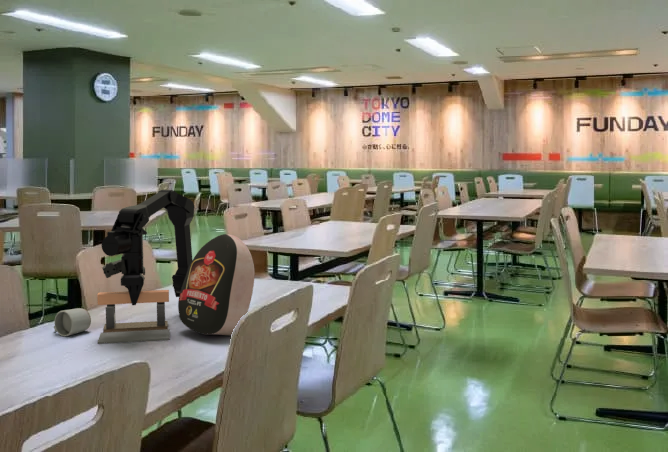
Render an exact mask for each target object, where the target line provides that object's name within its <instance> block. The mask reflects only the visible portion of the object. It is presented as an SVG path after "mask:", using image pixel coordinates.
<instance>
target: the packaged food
mask: <svg viewBox="0 0 668 452" xmlns="http://www.w3.org/2000/svg"><path fill="white" fill-rule="evenodd" d="M255 275H256V274H255V265H254V259H253V256H252V254H251V252H250V250H249V247H248V246H247V244H245V242H243V240H242V239H240V237H238V236H236V235H234V234H229V233H224V234H219V235H218V236H216V237H213V238H212V239H211V240H209V241H208V242H206V243H204V245H203V246H202V247H200V248H199V250H198V251H197V252H196V254H195V256H194V257H193V258H192V262H191V264H190V266H189V268H188V271H187V274H186V277H185V280H184V282H183V285H182V288H181V292H180V296H179V297H178V300H177V301H178V302H177V304H178V305H177V309H178V310H177V311H178V316H179V319H180V322H182V324H183V325H184V326H185V327H187V328H188V329H190V330H192V331H194V332H196V333H199V334H201V335H220V336H232V335H231V334H232V332H233V329H234V328H235V326H236V325H237V323H238V321H239V320H240V318H241V317H242V316H243V315H245V314H246V313H247V312H249V308H250V305H251V302H252V297H253V293H254V286H255V285H254V284H255ZM247 314H248V313H247Z"/></svg>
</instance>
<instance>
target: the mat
mask: <svg viewBox="0 0 668 452" xmlns="http://www.w3.org/2000/svg"><path fill="white" fill-rule="evenodd" d="M170 334H171V333H170V329H169V328H168V329H164V330H144V331H124V332H105V333H103V332H100V334H99V337H98V339H97V344H98V345H100V344H101V345H102V344H105V345H106V344H119V343H120V344H121V343H123V344H124V343H137V342H139V343H141V342H157V341H170V340H171V339H170V338H171V336H170Z"/></svg>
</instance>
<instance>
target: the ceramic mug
mask: <svg viewBox="0 0 668 452" xmlns="http://www.w3.org/2000/svg"><path fill="white" fill-rule="evenodd" d="M91 323H92V318H91V314H90V313H89V311H88V310H87V309H86V308H82V307H81V308H80V307H79V308H78V307H77V308H72V309H65V310H60V311H58V312H57V313H56V315H55V317H54V322H53V324H54V326H53V328H54V332H56V333H57V334H58V335H60V336H61V337H69V336H72V335H75V334H80V333H82V332H85V331H87V330H88V329H90V326H91Z"/></svg>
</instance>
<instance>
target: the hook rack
mask: <svg viewBox="0 0 668 452" xmlns="http://www.w3.org/2000/svg"><path fill="white" fill-rule="evenodd" d="M168 323H169V322H168V320H166V302H156V320H155V321H134V322H132V321H131V322H116V304H108V305H106V306H105V323H104V326H103V328H102V333H107V332H127V331H147V330H166V329H169V324H168Z"/></svg>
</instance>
